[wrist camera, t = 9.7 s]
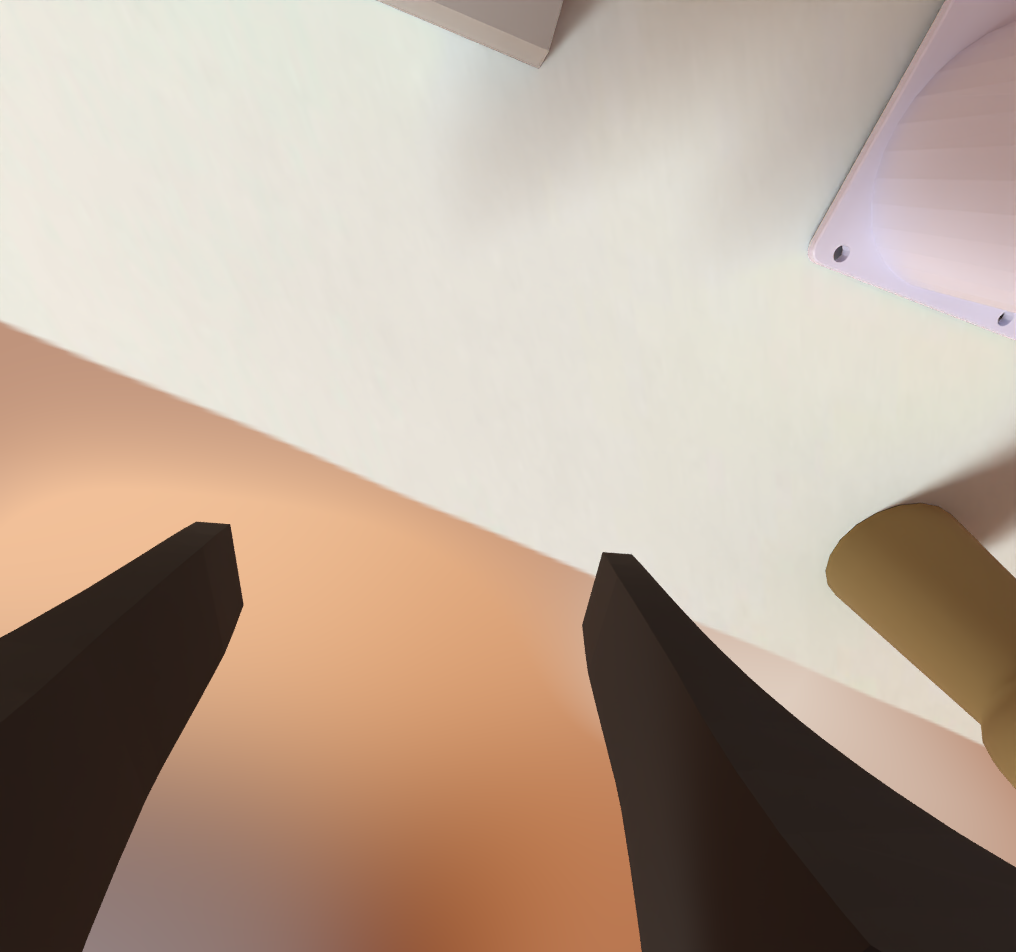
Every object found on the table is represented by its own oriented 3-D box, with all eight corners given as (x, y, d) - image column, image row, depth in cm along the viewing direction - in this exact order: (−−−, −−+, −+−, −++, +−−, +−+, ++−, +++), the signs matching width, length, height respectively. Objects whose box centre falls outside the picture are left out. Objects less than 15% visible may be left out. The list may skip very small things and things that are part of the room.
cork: (886, 486, 23) (1180, 716, 13) (987, 524, 24) (1321, 758, 14) (799, 586, 25) (991, 836, 16) (894, 615, 27) (1124, 861, 17)
